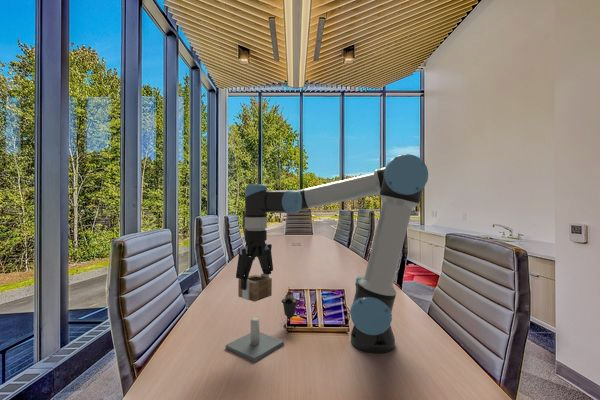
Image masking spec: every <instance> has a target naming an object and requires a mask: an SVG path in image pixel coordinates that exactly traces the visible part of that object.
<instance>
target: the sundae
mask: <svg viewBox="0 0 600 400" xmlns="http://www.w3.org/2000/svg"><path fill="white" fill-rule="evenodd" d="M288 289H290V287H288ZM298 302H299V300H298V299H297V298H295V297H294V296H293V294H292V293H291V292H290V291H288V292H286V294H285V297H284V298H283V299H282V300H281V303H282V305H283V312H284V315H285V316H286V317H287V319H288V318H291V319H292V317H294V316H295V314H296V308H297V307H296V306H297V303H298ZM286 324H287V323H284V324H283V328H284V329H287V328H286Z"/></svg>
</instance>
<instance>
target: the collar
mask: <svg viewBox="0 0 600 400" xmlns="http://www.w3.org/2000/svg"><path fill="white" fill-rule="evenodd" d="M248 279H249V280H250V293H249V300H248V301H251V302H254V303H255V302H258V301H261V300H263V299H266V298H269V297H272V291H273V290H272V287H273V286H272V284H273V281H272V280H273V279H272V278H271V277H269V278H268V277H264V276H261V274H260V275H259V274H252V275H249V276H248ZM237 289H238V290H237V291H238V292H237V293H238V294H237V295H238V298H242V289H241V279H238V287H237ZM242 299H243V298H242Z"/></svg>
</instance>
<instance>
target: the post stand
mask: <svg viewBox="0 0 600 400" xmlns="http://www.w3.org/2000/svg"><path fill="white" fill-rule="evenodd" d="M284 345H285V341H284V340H282V339H279V338H278V337H274V336H271V335H269V334H266V333H263V332H261V331H260V318H258V317H254V318H253V317H252V318H251V319H250V332H249V333H247V334H245V335H243V336H241V337H239V338H237V339H235V340H233V341H231V342H229V343H227V344H225V349H226V350H227V351H229V352H233V353H234V354H237V355H239V356H241V357H242V356H243V358H244V359H246V360H249V361H251V362H253V363H256V362H257V361H259V360H261V359H262V358H264V357H266V356H267V355H269V354H270V353H273V352H274V351H275V350H277V349H280V348H281V347H283V346H284Z"/></svg>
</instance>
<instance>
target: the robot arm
mask: <svg viewBox="0 0 600 400" xmlns="http://www.w3.org/2000/svg"><path fill="white" fill-rule="evenodd" d="M428 180H429V169H428V165H426V163H425V162H424V160H423V159H421V157H419V156H417V155H414V154H411V153H410V154H409V153H404V154H400V155H397V156H394V157H393V158H392V159H390V160H389V161H388V163H387V164H386V166H384V167H382V168H377V169H375V170H374V171H373V173H369V174H364V175H360V176H354V177H351V178H346V179H343V180H337V181H333V182H329V183H325V184H320V185H319V184H318V185H316V186H312V187H311V186H310V187H307V188H302V189H297V190H293V189H284V190H280V189H278V190H275V189H273V190H270V189H268V187H267V186H268V185H266V184H259V183H258V184H256V183H255V184H253V183H252V184H247V185H246V186H245V187H244V189H245V190H244V198H243V199H244V228H245V231H244V241H245V246H244V247H239V248H238V249H237V252H238V260H237V265H236V266H237V267H236V273H235V278H236V279H238V280H239V279H241V289H242V299H243V300H247V301H250V300H249V293H250V280H249V279H248V276H250V272H251V269H252V266H253V262H254V261H255V259H256V258H257V260H258V262H259V264H260V267H261V271H262V273H260V276H264V277H268V278H270V275H272V272H273V271H274V265H273V257H272V256H273V254H272V246H273V245H272V244H271V243H266V241H267V238H268V237H267V236H268V235H267V233H268V232H267V228H268V213H283V214H284V213H285V214H294V213H295V214H296V213H300V211H303V210H308V209H312V208H313V209H314V208H319V207H322V206H328V205H331V204H333V205H334V204H337V203H341V202H346V201H353V200H356V199H362V198H366V197H371V196H376V195H378V196H379V197H380V199H381V201H382V205H381V208H380V212H379V218H378V219H377V220H378V222H377V225H376V228H375V231H374V232H375V234H374V238H373V241H372V245H371V249H370V254H369V258H368V261H367V265H366V269H365V274H364V275H361V276H357V277H356V278H355V283H354V285H355V293H354V297H353V302H352V304H351V305H350V309H349V310H350V311H349V312H350V319H351V322H352V323H353V326H352V329H351V332H350V342H351V343H350V344H352V346H353V347H355V348H356V349H358V350H361V351H363V352H365V353H371V354H384V353H388V352H392V351H393V350H394V349H395V347H396V340H395V339H396V338H395V334H394V331H393V328H392V326H391V323H392V320H393V317H392V316H393V314H392V311H393V308H394V303H395V299H396V295H397V290H396V289H395V287H394V281H395V278H396V274H397V269H398V265H399V262H400V259H401V258H400V257H401V255H402V250H403V246H404V243H405V239H406V235H407V230H408V227H409V223H410V218H411V215H412V211H413V209H414V208H415V207H417V206H419V205H420V202H421V201H420V200H421V197H422V195H423V190H424V188H425V186H426V185H427V182H428Z"/></svg>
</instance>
